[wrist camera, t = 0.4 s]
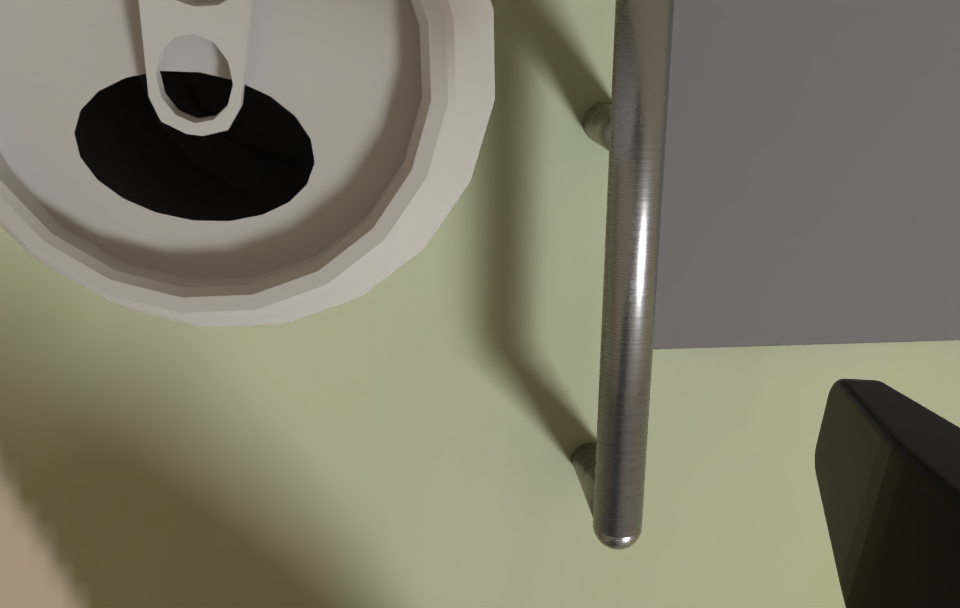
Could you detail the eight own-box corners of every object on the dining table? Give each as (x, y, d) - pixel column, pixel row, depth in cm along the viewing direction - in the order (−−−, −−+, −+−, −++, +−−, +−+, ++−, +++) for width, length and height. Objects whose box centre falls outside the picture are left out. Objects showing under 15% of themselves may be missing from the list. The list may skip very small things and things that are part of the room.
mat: (1058, 330, 26) (1071, 336, 25) (648, 342, 25) (652, 349, 24) (1173, -222, 21) (1191, -227, 21) (682, -232, 21) (688, -238, 20)
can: (136, 176, 22) (-141, 342, 11) (144, -154, 20) (-192, -377, 9) (435, 211, 23) (467, 398, 12) (474, -101, 21) (560, -240, 10)
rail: (1003, 461, 27) (1105, 535, 23) (568, 478, 26) (597, 560, 22) (1159, -325, 21) (1332, -404, 17) (595, -343, 20) (643, -432, 16)
